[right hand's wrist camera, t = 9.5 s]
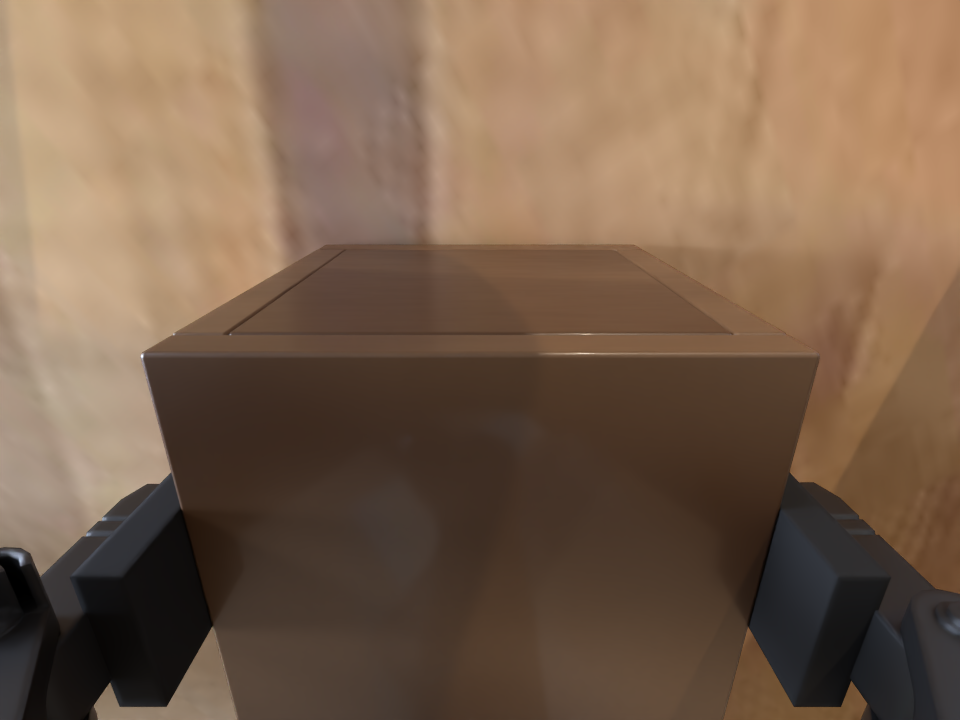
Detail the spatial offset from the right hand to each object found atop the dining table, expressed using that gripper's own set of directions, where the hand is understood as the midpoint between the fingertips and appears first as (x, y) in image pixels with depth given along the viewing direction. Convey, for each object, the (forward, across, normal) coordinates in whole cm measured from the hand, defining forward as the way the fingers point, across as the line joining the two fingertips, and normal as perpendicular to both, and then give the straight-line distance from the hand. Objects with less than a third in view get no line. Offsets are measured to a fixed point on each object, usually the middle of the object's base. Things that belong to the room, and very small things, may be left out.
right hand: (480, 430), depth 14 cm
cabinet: (+5, 0, -6) cm, 8 cm away
